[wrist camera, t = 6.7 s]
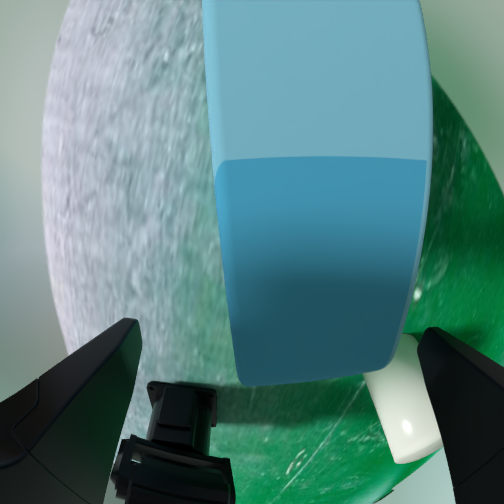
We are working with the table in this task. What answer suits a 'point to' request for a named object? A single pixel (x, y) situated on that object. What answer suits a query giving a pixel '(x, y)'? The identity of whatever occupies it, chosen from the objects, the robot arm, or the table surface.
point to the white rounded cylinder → (404, 404)
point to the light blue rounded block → (318, 178)
